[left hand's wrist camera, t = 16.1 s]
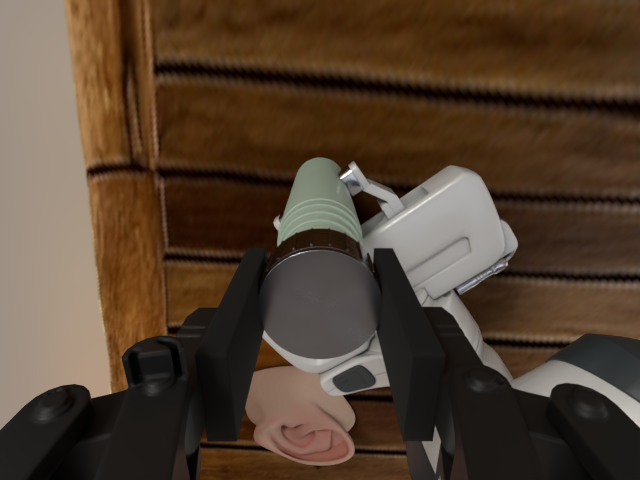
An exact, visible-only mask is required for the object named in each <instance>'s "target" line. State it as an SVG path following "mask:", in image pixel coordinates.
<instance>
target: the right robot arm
mask: <svg viewBox="0 0 640 480" xmlns="http://www.w3.org/2000/svg"><path fill="white" fill-rule="evenodd" d="M338 176H339V178H340V179H341V181H342V182H343V183H344V184H345V185H347V189H348V190H349V192H350V193H351V195H352V196H354V195H356V194H357V193H359V192H360V191H362V190H363V191H365V192H367V193H369V194H371V195H373V196H376V197H378V198H377V202H378V203H379V205H380V207H381V208H382V211H381V212H379V213H378V214H376V215H375V216H374V217H372V218H371V219H369V220H368V221H366V222H365V223H363V224H362V225H360V226H361V230H362V238H363V248H364V249H365V250H366V252H367V253H368V252H369V254H370V257H371V260H372V263H373V255H374V248H393V250H394V252H395V254H396V256H397V258H398V260H399V262H400V264H401V266H402V268H403V270H404V272H405V274H406V276H407V278H408V280H409V282H410V284H411V286H412V288H413V290H414V292H415V294H416V296H417V298H418V300H419V302H420V304H421V306H422V307H442V308H444V309H445V310H446V311H448V312H449V313H450V314H452V315H453V316H454V318H455V319H456V321H457V322H458V324H459V327H460V328H461V329H462V331H463V332H464V334H465V336H466V337H467V339H468V340H469V342H470V343H471V345H472V347H473V348H474V350H475V351H476V353H477V355H478V356H479V358H480V359H481V361H482V363H483V364H484V365H486V366H489V367H491V368H493V369H495V370H497V371H498V372H500V373H501V374H502V375H503V376H504V377H506V378H507V380H508V381H509V383H510V384H511V386H512V388H515V389H518V390H521V391H525V392H529V393H533V394H538V395H542V396H546V397H550V394H551V390H552V389H553V388H554V387H555V386H556V385H557V384H563V383H572V384H579V385H582V386H585V387H589V388H592V389H594V390H596V391H597V392H599V393H601V394H603V395H605V396H606V397H608V398H609V399H610V400H611V401H613V402H614V403H615V404H616V405H618V406H619V407H620V408H621V409H622V410H623V411H624V412H625V413H626V414H627V415H628V416H629V417H630V418H631V419H632V420H633V421H634V422H635V423H636V424H637V425H638V426H639V427H640V340H637V339H632V338H626V337H620V336H612V335H602V334H585V335H583V336H582V337H580V338H579V339H577V340H576V341H574V342H573V343H571V344H570V345H568V346H567V347H565V348H564V349H562V350H561V351H559V352H557V353H556V354H554V355H553V356H551V357H550V358H548V359H547V360H546V362H545V363H544V364H542V365H541V366H539V367H537V368H535V369H533V370H531V371H529V372H527V373H526V374H524V375H522V376H520V377H518V378H516V379H513V377H512V375H511V374H510V372H509V371H508V369H507V367H506V366H505V364H504V363H503V361H502V360H501V358H500V357H499V355H498V354H497V353H496V352H495V351H494V350H493V349H492V348H491V347H490V346H489V345H488V344H486V343H485V342H484V341H483V339H482V334H481V331H480V329H479V327H478V325H477V323H476V321H475V320H474V318H473V317H472V315H471V314H470V313H469V311H468V310H467V308H466V307H465V305H464V304H463V302H462V301H461V299H460V298H459V296H460V295H462V294H464V293H465V292H467V291H469V290H470V289H472V288H474V287H475V286H477V285H478V284H479V283H481V282H482V281H484V280H485V279H487V278H488V277H490V276H492V275H493V274H494V275H495V274H498V273H499V272H501V271H503V270H504V269H505V268H506V267H507V266H508V261H509V260H510V259H511V258H512V257H513V255H514V253H515V251H516V249H517V247H518V242H517V239H516V236H515V235H514V233H513V231H512V229H511V228H510V226H509V224H508V223H507V222H506V221H505V220H504V219H502V218H500V217H499V216H498V213H497V210H496V207H495V205H494V203H493V200H492V198H491V196H490V193H489V191H488V189H487V187H486V185H485V184H484V182H483V180H482V179H481V177H480V176H479V175H478V174H476V173H475V172H473V171H471V170H469V169H467V168H463V167H459V166H453V165H451V166H448V167H446V168H444V169H443V170H441V171H440V172H438V173H437V174H436V175H434V176H433V177H431V178H430V179H428V180H427V181H425V182H424V183H422V184H421V185H419V186H418V187H416V188H415V189H413V190H412V191H410V192H409V193H407V194H406V195H405V196H403V197H402V198H400V199H399V198H398V197H397V195H396V194H395V193H394V192H393V191H392V189H391V188H388V187H386V186H384V185H381V184H379V183H377V182H375V181H372V180H370V179H366V178H365V176H364V175H363V173H362V172H361V170H360V169H359V168H358V166H357V165H356V163H355V162H354V161H353V162H352V163H350V164H349V165H347V166H346V167H345V168H343V169H342V170H341V171H339V172H338ZM284 212H285V211H284ZM284 212H283V213H281V214H280V215H279V216H277V217H276V218H275V219H274V222H273V223H274V226H275V227H276V229H277V230H278V231H279V227H280V224H281V221H282V218H283V215H284ZM505 255H506V256H505ZM504 256H505V257H504ZM263 338H264V339H265V340H266V341H267V342H268V343H269V345H271V346H272V347H273V348H274V349H275V350H276V351H277V352H278V353H279V354H280V355H281V356H282V357H284V358H285V359H286V360H287V361H288V362H290V363H291V364H292V365H293V366H295V367H296V368H298V369H300V370H302V371H304V372H307V373H319V379H320V385H321V387H322V389H323V390H324V391H325V392H326V393H327V394H328V395H330V396H333V397H337V396H343V395H347V394H351V393H355V392H359V391H363V390H368V389H373V388H379V387H387V386H390V384H389V380H388V376H387V372H386V368H385V364H384V360H383V356H382V352H381V348H380V344H379V339H378V335H377V331H376V330H375V332H374V333H373V335H372V336H371V337H370V338H369V339H368V340H367V341H366V342H365V343H364V344H363V345H362V346H360V347H359V348H358V349H356V350H354V351H353V352H350V353H348V354H346V355H343V356H340V357H336V358H331V359H310V358H305V357H300V356H297V355H295V354H292V353H290V352H288V351H286V350H284V349H283V348H281V347H280V346H278V345H277V344H276V343H275V342H274V341H273V340H272V339H271V338H270V337H269V336H268V334H267V333H266V332H265V330H264V333H263ZM440 443H441V440H440V437H439V434H438V432H437V429H436V426H435V429H434V436H433V441H407V445H406V451H407V461H408V467H409V471H410V475H411V478H412V480H441V478H440V479H436V478H435V474H436V468H437V462H438V456H439V449H440Z"/></svg>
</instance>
